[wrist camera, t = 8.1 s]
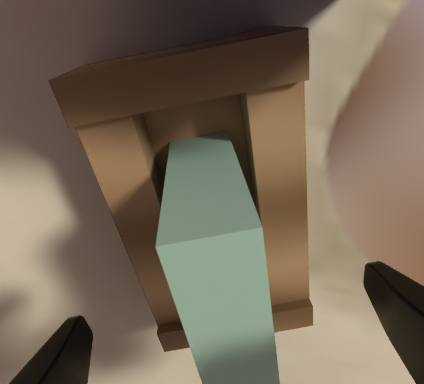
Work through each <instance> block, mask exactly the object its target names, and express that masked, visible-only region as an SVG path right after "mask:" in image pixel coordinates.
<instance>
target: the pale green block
mask: <svg viewBox="0 0 424 384" xmlns="http://www.w3.org/2000/svg"><path fill="white" fill-rule="evenodd" d="M155 247H156V250H157V253H158V256H159V259H160V262H161V265H162V267H163V270H164V273H165V276H166V279H167V282H168V285H169V288H170V291H171V294H172V296H173V299H174V302H175V305H176V308H177V311H178V314H179V317H180V320H181V323H182V326H183V328H184V331H185V334H186V337H187V340H188V343H189V346H190V349H191V352H192V355H193V357H194V360H195V363H196V366H197V369H198V372H199V375H200V378H201V381H202V384H280V382H279V372H278V363H277V354H276V345H275V336H274V327H273V318H272V309H271V300H270V291H269V282H268V273H267V264H266V254H265V245H264V236H263V227H262V225H261V222H260V219H259V216H258V214H257V211H256V208H255V205H254V203H253V200H252V197H251V194H250V192H249V189H248V186H247V183H246V181H245V178H244V175H243V172H242V170H241V167H240V164H239V162H238V159H237V156H236V153H235V151H234V148H233V145H232V142H231V140H230V137H229V134H228V131H224V132H218V133H213V134H208V135H203V136H197V137H192V138H187V139H182V140H176V141H171V142H170V147H169V154H168V161H167V168H166V175H165V182H164V189H163V197H162V204H161V211H160V218H159V225H158V232H157V239H156V246H155Z"/></svg>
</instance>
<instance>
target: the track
mask: <svg viewBox="0 0 424 384" xmlns="http://www.w3.org/2000/svg"><path fill="white" fill-rule="evenodd" d="M306 80H309V33H308V28H303V27H285V26H276V27H271V28H266V29H261V30H256V31H251V32H246V33H242V34H237V35H232V36H227V37H222V38H217V39H212V40H207V41H202V42H197V43H192V44H188V45H183V46H178V47H173V48H168V49H163V50H158V51H153V52H148V53H143V54H138V55H133V56H129V57H124V58H119V59H114V60H109V61H104V62H99V63H94V64H89V65H84V66H81V67H79V68H77V69H74V70H72V71H70V72H67V73H65V74H63V75H60V76H58V77H56V78H53V79H51V80H49V83H50V85H51V88H52V90H53V92H54V95H55V97H56V99H57V102H58V104H59V107H60V109H61V111H62V114H63V116H64V118H65V121H66V123H67V125H68V128H69V127H74V126H75V128H76V130H77V133H78V135H79V138H80V140H81V142H82V145H83V147H84V150H85V152H86V154H87V157H88V159H89V162H90V164H91V166H92V169H93V171H94V174H95V176H96V178H97V181H98V183H99V186H100V188H101V190H102V193H103V195H104V198H105V200H106V202H107V205H108V207H109V210H110V212H111V214H112V217H113V219H114V222H115V224H116V226H117V229H118V231H119V234H120V236H121V238H122V241H123V243H124V246H125V248H126V250H127V253H128V255H129V258H130V260H131V262H132V265H133V267H134V270H135V272H136V274H137V277H138V279H139V282H140V284H141V286H142V289H143V291H144V294H145V296H146V298H147V301H148V303H149V306H150V308H151V310H152V313H153V315H154V318H155V320H156V323H157V325H158V330H157V335H158V338H159V340H160V342H161V345H162V347H163V349H164V352H166V351H172V350H177V349H183V348H189V347H190V346H189V343H188V340H187V337H186V334H185V331H184V328H183V326H182V323H181V320H180V317H179V314H178V311H177V308H176V305H175V302H174V299H173V296H172V294H171V291H170V288H169V285H168V282H167V279H166V276H165V273H164V270H163V267H162V265H161V262H160V259H159V256H158V253H157V250H156V247H155V246H156V239H157V232H158V225H159V218H160V211H161V204H162V197H163V189H164V182H165V175H166V168H167V161H168V154H169V147H170V142H171V141H176V140H182V139H187V138H192V137H197V136H203V135H208V134H213V133H218V132H224V131H228V134H229V137H230V140H231V142H232V145H233V148H234V151H235V153H236V156H237V159H238V162H239V164H240V167H241V170H242V172H243V175H244V178H245V181H246V183H247V186H248V189H249V192H250V194H251V197H252V200H253V203H254V205H255V208H256V211H257V214H258V216H259V219H260V222H261V225H262V227H263V236H264V245H265V254H266V264H267V273H268V282H269V291H270V300H271V309H272V318H273V327H274V332H279V331H284V330H290V329H296V328H301V327H307V326H312V325H313V306H312V304H311V301H310V299H309V266H308V223H307V181H306V139H305V97H304V81H306Z"/></svg>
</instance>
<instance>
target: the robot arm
mask: <svg viewBox="0 0 424 384" xmlns="http://www.w3.org/2000/svg"><path fill="white" fill-rule="evenodd" d="M363 283H364V288H365V290H366V292H367V294H368V296H369V299H370V301H371V303H372V305H373V307H374V309H375V311H376V313H377V315H378V318H379V320H380V322H381V324H382V326H383V328H384V330H385V332H386V334H387V336H388V338H389V340H390V341H391V343H392V345H393V346H394V348H395V350H396V351H397V353H398V355H399V356H400V358H401V360H402V361H403V363H404V365H405V366H406V368H407V370H408V371H409V373H410V374H411V376H412V378H413V379H414V381H415V383H416V384H424V286H422V285H421V284H419V283H417V282H415V281H414V280H412V279H410V278H409V277H407V276H405V275H403V274H402V273H400V272H398V271H396V270H395V269H393V268H391V267H389V266H388V265H386V264H384V263H382V262H380V261H376V262H371V263H367V264H366V265H365V271H364V281H363ZM92 341H93V333H92V330H91V329H90V327H89V325H88V324H87V322H86V320H85V319H84V317H83V316H74V317H70V318H68V319H67V320H66V321H65V322H64V323H63V324H62V325H61V326H60V327H59V328H58V330H57V331H56V332H55V333H54V334H53V335H52V336H51V337H50V338H49V340H48V341H47V342H46V343H45V344H44V345H43V346H42V347H41V349H40V350H39V351H38V352H37V353H36V354H35V355H34V356H33V357H32V359H31V360H30V361H29V362H28V363H27V364H26V365H25V366H24V367H23V369H22V370H21V371H20V372H19V373H18V374H17V375H16V376H15V377H14V379H13V380H12V381H11V382H10V383H9V384H87V383H88V375H89V366H90V358H91V350H92Z"/></svg>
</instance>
